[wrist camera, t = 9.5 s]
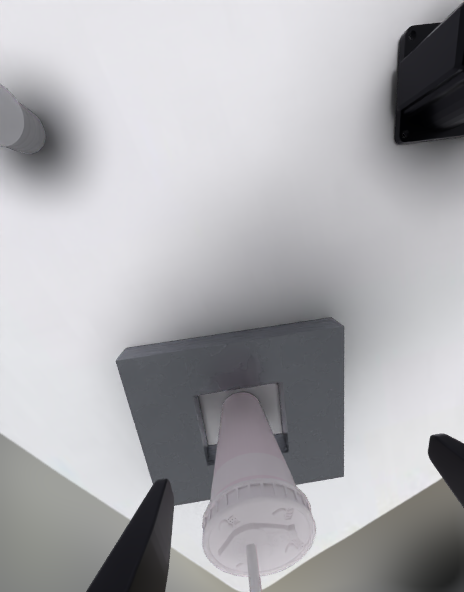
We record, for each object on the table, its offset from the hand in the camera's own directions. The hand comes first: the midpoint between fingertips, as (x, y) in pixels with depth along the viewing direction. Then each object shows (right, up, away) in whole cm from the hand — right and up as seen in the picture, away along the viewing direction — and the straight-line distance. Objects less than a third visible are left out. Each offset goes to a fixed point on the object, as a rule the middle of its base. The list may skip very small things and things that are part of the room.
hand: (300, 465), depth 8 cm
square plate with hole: (-1, -5, +14) cm, 15 cm away
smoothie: (-1, -5, +14) cm, 15 cm away
